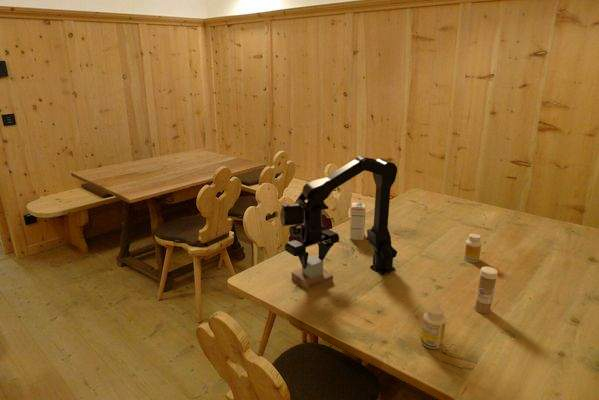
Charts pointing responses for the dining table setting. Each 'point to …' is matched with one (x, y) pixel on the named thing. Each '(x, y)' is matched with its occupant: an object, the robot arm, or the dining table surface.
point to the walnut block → (313, 282)
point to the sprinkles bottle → (486, 289)
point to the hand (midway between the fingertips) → (312, 265)
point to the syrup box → (357, 221)
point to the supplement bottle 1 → (433, 327)
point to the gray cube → (313, 267)
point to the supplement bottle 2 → (472, 248)
